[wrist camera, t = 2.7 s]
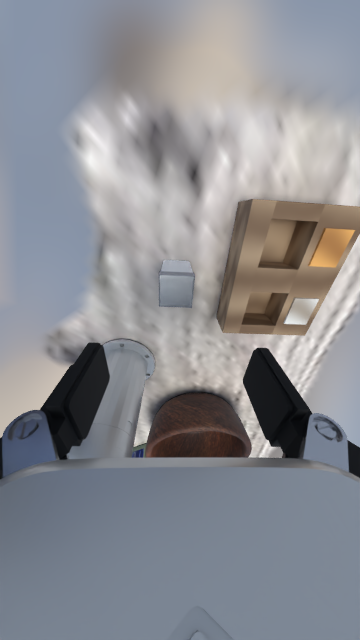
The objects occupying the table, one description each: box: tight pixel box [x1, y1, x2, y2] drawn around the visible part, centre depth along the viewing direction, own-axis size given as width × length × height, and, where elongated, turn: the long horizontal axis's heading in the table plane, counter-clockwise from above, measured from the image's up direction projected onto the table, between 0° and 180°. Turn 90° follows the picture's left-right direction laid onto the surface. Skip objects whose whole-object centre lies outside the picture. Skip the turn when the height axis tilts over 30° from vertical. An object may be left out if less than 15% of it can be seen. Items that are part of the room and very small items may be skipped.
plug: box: [159, 260, 195, 308], centre depth 25 cm, size 4×4×8 cm
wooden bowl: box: [145, 393, 252, 458], centre depth 45 cm, size 25×25×10 cm
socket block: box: [217, 199, 360, 335], centre depth 26 cm, size 18×14×5 cm
